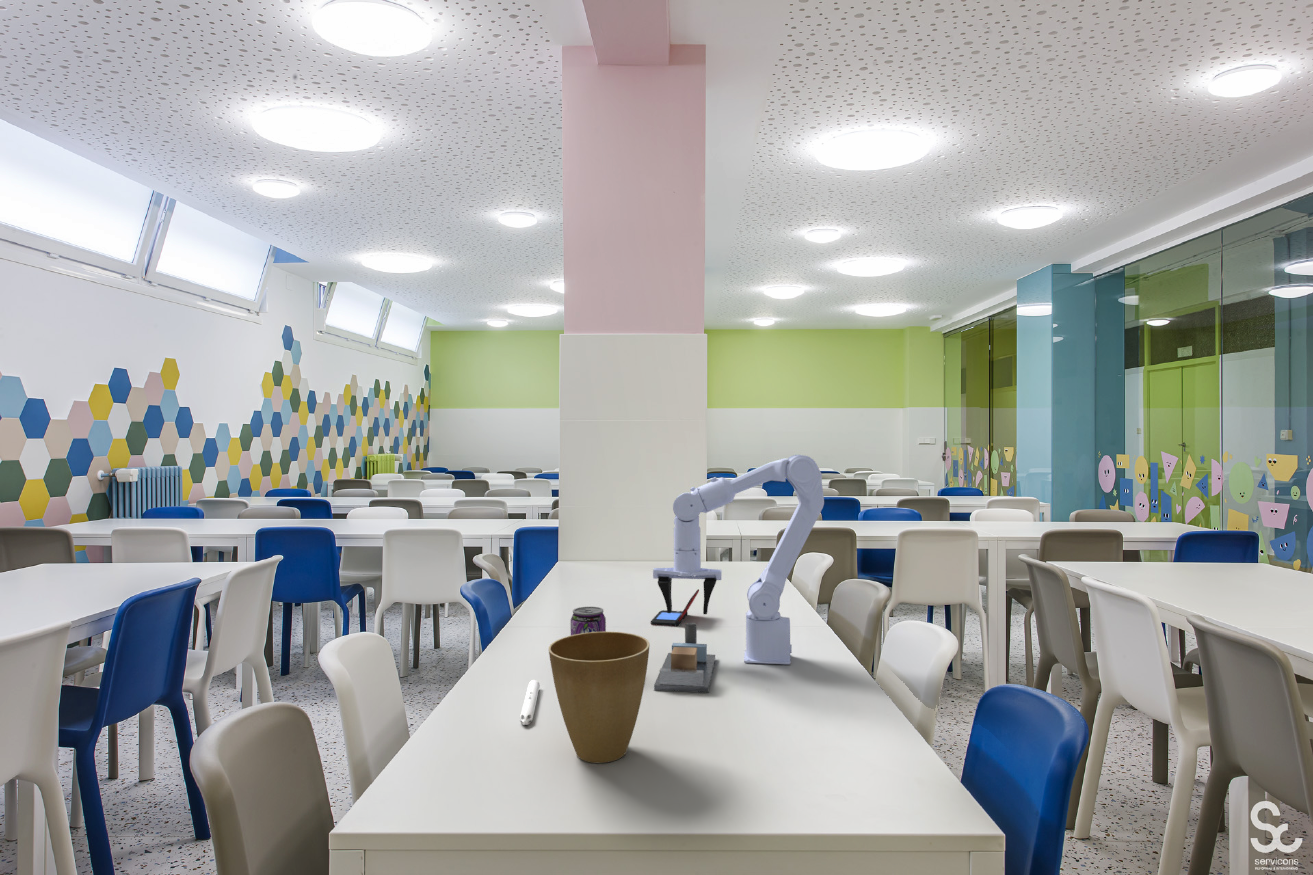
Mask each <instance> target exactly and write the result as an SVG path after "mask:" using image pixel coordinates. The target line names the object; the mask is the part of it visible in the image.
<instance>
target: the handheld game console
mask: <svg viewBox="0 0 1313 875" xmlns="http://www.w3.org/2000/svg"><path fill="white" fill-rule="evenodd" d="M699 591H700V589H696V591H695V592H694V593H693V595H692V596H691V597H690V598H689V601H688V602H687V603H686V605H685V607H684V609H683V610H672V612H671V613H667V609H666V610H665V609H663V610H660V611H659V612H658V613H657V614H656V615H655V616H654V617H653V618H652V619H651V620H650V625H651V626H660V627H663V626H664V627H680V626H681V624H682V623H683V621H684V620H685V619H686V617H687V616H688V614H689V613H688V611H689V609H690V608H691V606H692V604H693V603H694V601H695V599H696V597H697V595H698V594H699Z"/></svg>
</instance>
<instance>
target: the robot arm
mask: <svg viewBox="0 0 1313 875" xmlns="http://www.w3.org/2000/svg"><path fill="white" fill-rule="evenodd" d="M786 480H787V481H788V483H790V485H791V486H792V487H793V489H794V492H795V495H796V498H797V500H798V504H797V506H796V508H795V510H794V511H793V514H792V516H791V518H790V520H789V522H788V524H787V526H786V528H785V530H784V532H783V534H782V535H781V537H780V540H779V542H778V543H777V545H776V548H775V549H774V551H773V553H772V556H771V557H770V559H769V561H768V563H767V565H766V567H765V568H764V569H763V571H762V572H761V573H760V575H759V577H758V578H757V580H756V581H755V582H753V583H751V584H750V585H749V587H748V589H747V593H746V594H747V595H746V596H747V600H748V607H749V610H748V611H747V612H745V647H746V648H745V650H744V653H743V662H744V663H745V664H747V663H748V664H766V665H767V664H768V665H769V664H770V665H771V664H772V665H791V654H792V652H793V651H792V650H793V648H792V645H793V644H791V619H790V617H788V616H781V612H780V606H781V604H780V603H781V601H780V599H781V596H782V594H783V592H784V588H785V585H786V582H787V578H788V577H789V575H790V573H791V571H792V569H793V567H794V565H795V563H796V561H797V559H798V558H799V555H800V553H801V552H802V549H803V547H804V545H805V543H806V541H807V539H808V538H809V535H811V534H810V533H811V532H812V530H813V528H814V526H815V524H816V521H817V520H818V518H819V516H820V515H821V512H822V510H823V508H824V505H825V497H824V489H823V474H822V472H821V470H820V468H819V466H818V464H817V463H816V461H815V460H814V458H812V457H810V456H808V455H804V454H793V455H791V456H789V457H788V458H787V457H784V458H780V459H777V460H773V461H770V462H768V463H767V462H766V463H765V464H762V465H761V466H759V467H757V468H754V469H752V470H750V471H748V472H746V473H743V474H741V475H739V476H736V477H734V478H732V479H727V478H725V477H718V478H717V477H716V476H714V477H711V478H710V481H709V482H707V483H704V484H702V485H699V486H698V487H695V486H692V487H690V492H689V491H688V492H683V493H680V494H679V495H677V497H676V499H674V501H673V504H672V511H673V513H674V515H675V517H674V518H673V524H674V527H673V567H654V568H653V569H652V578H653V580H654V579H656V580H657V585H658V588H659V589H660V591H661V593H662V596H663V599H664V602H665V606H666V610H667V613H671V612H672V611H673V601H672V582H673V581H672V580H673V579H677V580H678V579H679V580H681V579H686V580H703V607H702V608H703V609H702V611H703V613H702V614H703V615H707V614H708V608H709V603H710V598H711V595H712V593H713V591H714V588H715V585H716V584H717V581H722V572H723V571H722V569H718V568H717V569H715V568H703V567H702V568H701V565H702V564H701V563H702V562H701V558H702V556H701V554H702V553H701V527H700V514H701V513H704V514H707V513H709V512H712V511H714V510H716V509H719V508H721V507H724V506H726V505H729V504H730V503H733V501H734V499H735V498H736V497H735V496H736V494H738V493H741V492H744V491H747V490H749V489H752V488H754V487H756V486H757V487H758V486H759V485H762V484H764V483H767V482H770V481H774V482H784V483H786Z"/></svg>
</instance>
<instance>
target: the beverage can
mask: <svg viewBox="0 0 1313 875" xmlns="http://www.w3.org/2000/svg"><path fill="white" fill-rule="evenodd" d="M606 619H607V618H606V616H605V614H604V608H602V607H598V606H581V607H576V608H574V609H572V616H571V617H570V636H571V635H576V634H582V633H589V632H607V629H606V627H607V625H606V624H607V622H606Z"/></svg>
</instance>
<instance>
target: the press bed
mask: <svg viewBox="0 0 1313 875" xmlns="http://www.w3.org/2000/svg"><path fill="white" fill-rule="evenodd" d="M671 653H672V652H668V653H667V655H666V658H665V660H664V662H663V664H662V667H661V668H660V669H659V673H658V675H657V678H656V680H655V682H654V684H653V691H660V692H661V691H662V692H663V691H664V692H682V693H683V692H686V693H701V694H702V693H704V694H709V691H710V687H711V681H712V677H713V672H714V669H715V664H716V663H715V662H716V654H710V653H709V654H708V653H707V660H706V662H701V661H697V670H684V669H671Z"/></svg>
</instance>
